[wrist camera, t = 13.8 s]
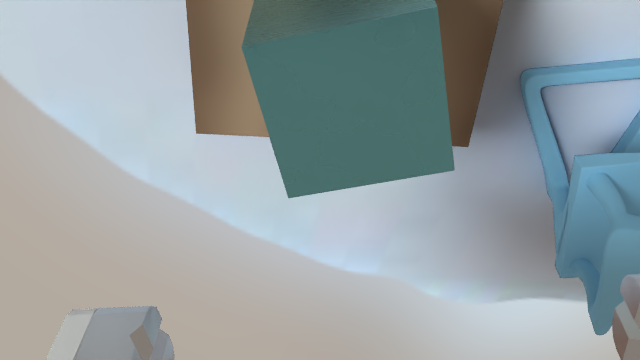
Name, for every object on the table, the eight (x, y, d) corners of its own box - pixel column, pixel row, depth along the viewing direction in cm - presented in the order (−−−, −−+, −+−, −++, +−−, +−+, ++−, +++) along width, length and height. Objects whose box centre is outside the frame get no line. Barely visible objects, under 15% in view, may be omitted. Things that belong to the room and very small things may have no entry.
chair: (507, 199, 35) (577, 382, 25) (521, 68, 30) (615, 234, 20) (646, 188, 34) (773, 371, 25) (684, 52, 29) (861, 216, 20)
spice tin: (403, -75, 21) (437, 6, 15) (419, 54, 24) (454, 170, 18) (265, -45, 22) (241, 46, 15) (297, 78, 25) (288, 198, 18)
